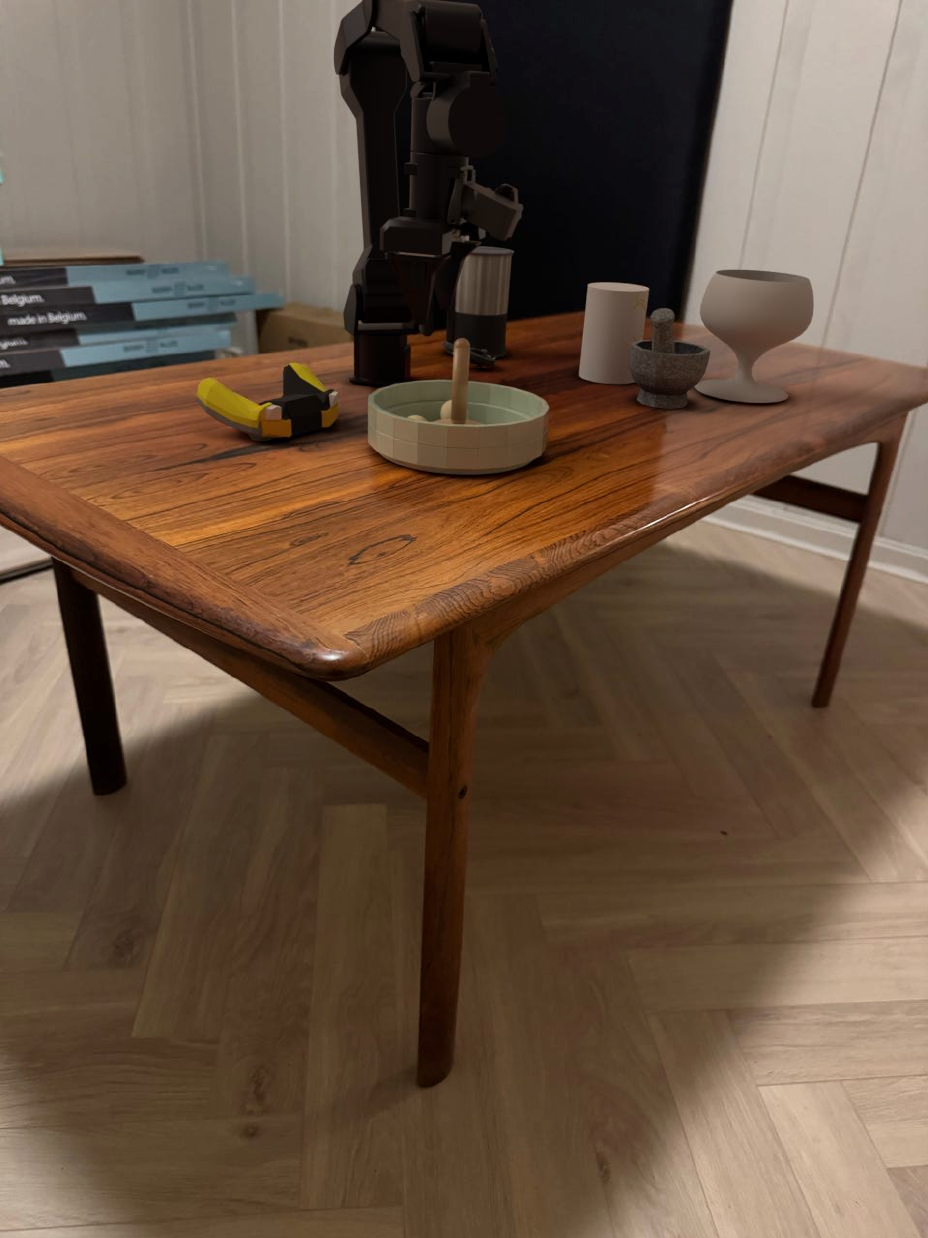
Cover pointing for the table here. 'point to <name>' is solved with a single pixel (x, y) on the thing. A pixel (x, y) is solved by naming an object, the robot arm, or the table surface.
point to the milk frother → (479, 306)
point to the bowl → (457, 427)
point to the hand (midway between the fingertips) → (433, 316)
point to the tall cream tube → (611, 331)
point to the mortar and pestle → (666, 364)
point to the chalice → (753, 325)
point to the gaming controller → (273, 406)
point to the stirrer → (460, 385)
